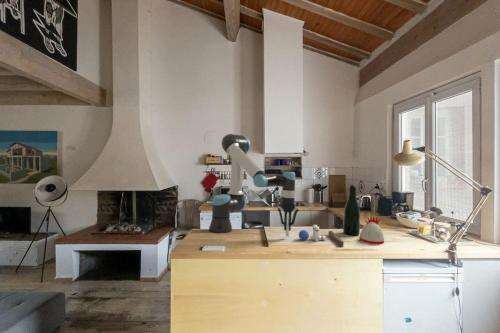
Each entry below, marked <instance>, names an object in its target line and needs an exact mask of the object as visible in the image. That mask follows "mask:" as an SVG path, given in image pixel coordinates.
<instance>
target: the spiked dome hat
mask: <svg viewBox="0 0 500 333" xmlns="http://www.w3.org/2000/svg"><path fill="white" fill-rule="evenodd" d="M380 221H381V219H378V217H376V218H375V217H374V216H373V217H372V216H370V218H367V220H366V219H365V224H364V225H363V227H362V228H361V229H360V234H359V241H361V242H362V243H366V244H371V245H383V244H385V236H384V233H383V229H382V228H381V227H380V226H379V222H380Z"/></svg>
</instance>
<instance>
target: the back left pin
mask: <svg viewBox="0 0 500 333" xmlns="http://www.w3.org/2000/svg"><path fill="white" fill-rule="evenodd" d="M315 227H318V225H317V224H313V225H312V236H315Z"/></svg>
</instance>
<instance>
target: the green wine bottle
mask: <svg viewBox="0 0 500 333" xmlns="http://www.w3.org/2000/svg"><path fill="white" fill-rule="evenodd" d="M348 189H349V190H348V191H349V192H348V199H347V202H346V204H345V206H344V212H343V225H342V226H343V227H342V232H343V234H344V235H346V234H347V236H360V233H361V227H360V226H361V211H360V206H359V203H358V200H357V187H356V184H350V185H349V188H348Z"/></svg>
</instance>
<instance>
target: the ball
mask: <svg viewBox="0 0 500 333" xmlns="http://www.w3.org/2000/svg"><path fill="white" fill-rule="evenodd" d="M309 236H310V234H309V232H308V231H307V230H306V229H302V230H300V231H299V232H298V238H299V239H300V240H302V241H306V240H308V239H309Z"/></svg>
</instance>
